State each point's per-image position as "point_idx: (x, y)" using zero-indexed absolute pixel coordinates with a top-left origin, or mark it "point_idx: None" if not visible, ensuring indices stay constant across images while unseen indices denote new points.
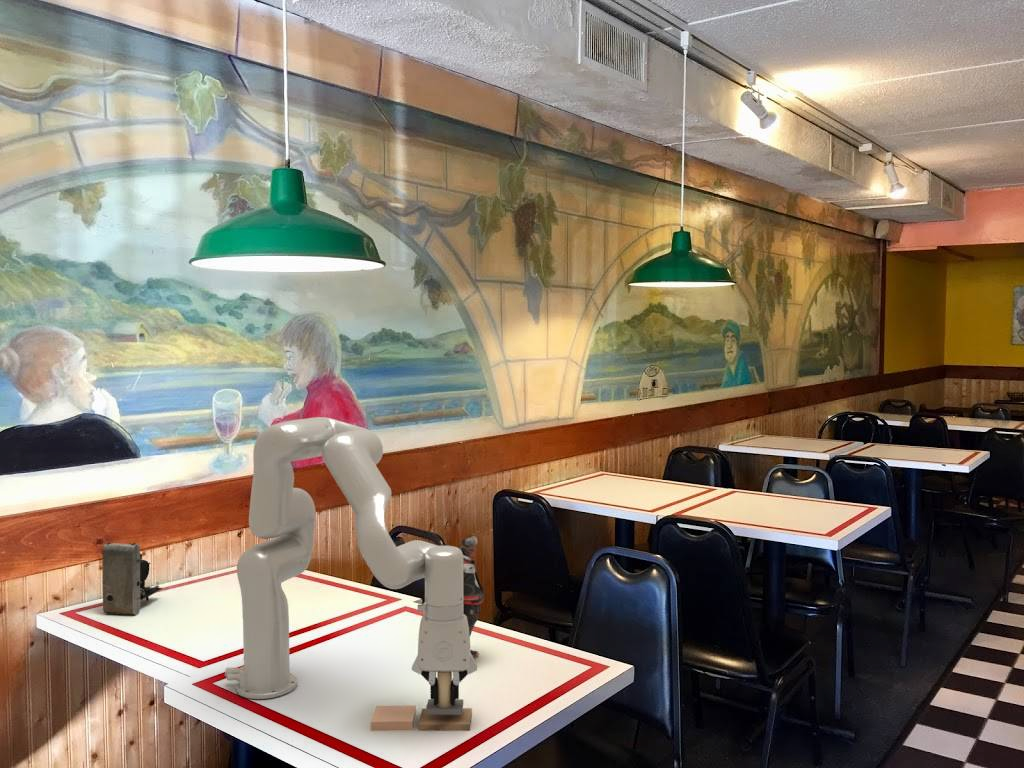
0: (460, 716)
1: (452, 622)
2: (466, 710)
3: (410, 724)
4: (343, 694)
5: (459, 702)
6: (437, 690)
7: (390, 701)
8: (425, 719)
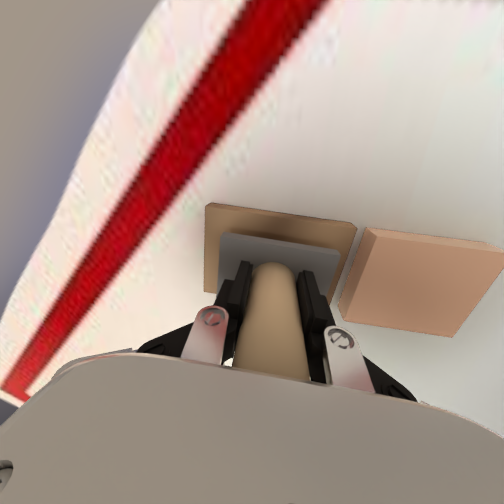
0: None
1: None
2: (216, 283)
3: (379, 233)
4: (474, 404)
5: None
6: (303, 308)
7: (382, 363)
8: None
